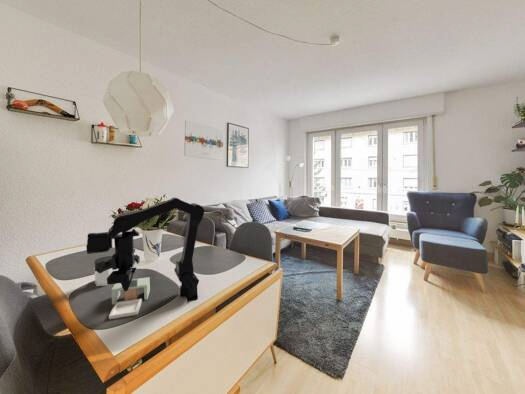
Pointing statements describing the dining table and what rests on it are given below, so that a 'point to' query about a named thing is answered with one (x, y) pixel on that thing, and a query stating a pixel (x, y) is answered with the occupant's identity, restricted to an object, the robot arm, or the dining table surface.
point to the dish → (125, 308)
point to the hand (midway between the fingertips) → (126, 290)
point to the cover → (134, 284)
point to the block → (131, 294)
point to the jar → (102, 274)
